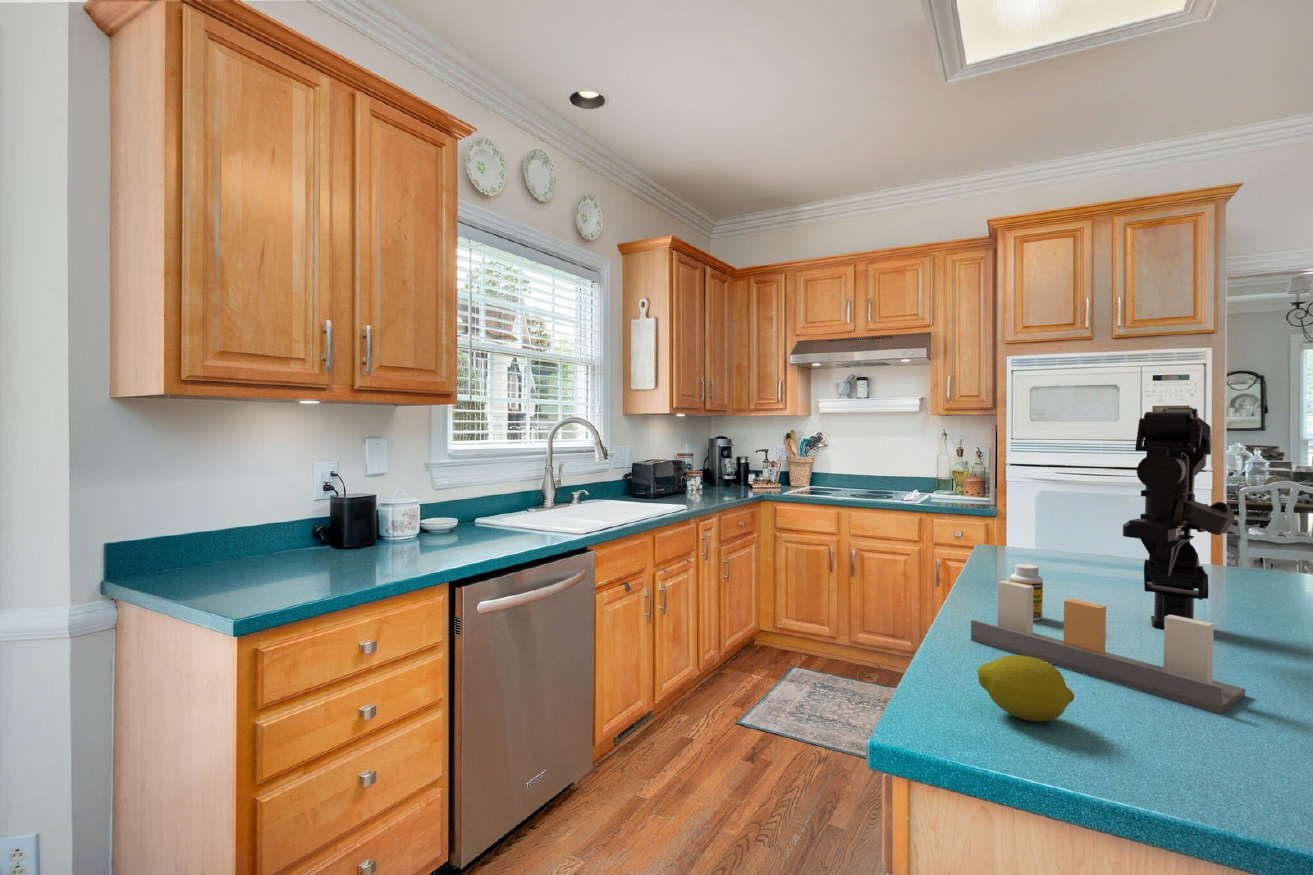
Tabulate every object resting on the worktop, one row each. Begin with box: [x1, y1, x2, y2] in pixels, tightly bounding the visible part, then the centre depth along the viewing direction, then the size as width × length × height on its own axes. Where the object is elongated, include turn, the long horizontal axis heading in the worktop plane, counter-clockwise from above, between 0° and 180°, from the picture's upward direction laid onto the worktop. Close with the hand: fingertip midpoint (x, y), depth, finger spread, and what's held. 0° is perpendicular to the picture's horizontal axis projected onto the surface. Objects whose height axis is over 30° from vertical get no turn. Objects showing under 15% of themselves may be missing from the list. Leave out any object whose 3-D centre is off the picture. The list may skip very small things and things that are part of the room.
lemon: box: [977, 654, 1075, 722], centre depth 83 cm, size 11×8×8 cm
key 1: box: [997, 580, 1034, 636], centre depth 110 cm, size 2×5×9 cm, turn 34°
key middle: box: [1063, 598, 1107, 655], centre depth 99 cm, size 2×5×9 cm, turn 33°
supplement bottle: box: [1009, 563, 1044, 622], centre depth 124 cm, size 6×6×10 cm
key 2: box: [1163, 615, 1215, 684], centre depth 90 cm, size 2×5×9 cm, turn 34°
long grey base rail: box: [970, 619, 1246, 715], centre depth 100 cm, size 10×34×4 cm, turn 34°
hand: (1165, 576), depth 108 cm, fingers closed
